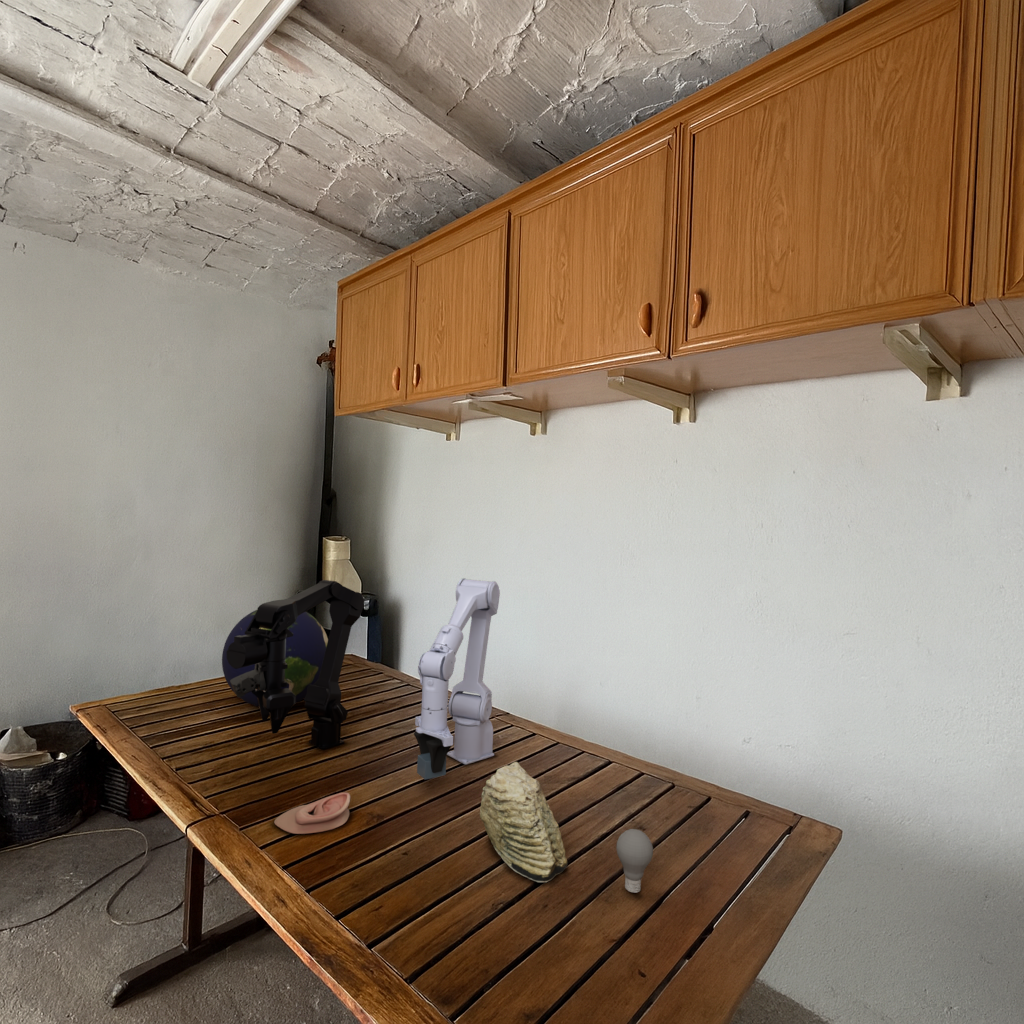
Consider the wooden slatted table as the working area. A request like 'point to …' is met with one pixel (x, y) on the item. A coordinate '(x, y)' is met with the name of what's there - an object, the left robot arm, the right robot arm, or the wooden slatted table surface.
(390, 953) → the wooden slatted table surface
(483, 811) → the fossil
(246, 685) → the left robot arm
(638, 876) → the light bulb
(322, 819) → the anatomical model
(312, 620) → the globe
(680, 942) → the wooden slatted table surface
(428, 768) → the brick
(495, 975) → the wooden slatted table surface
